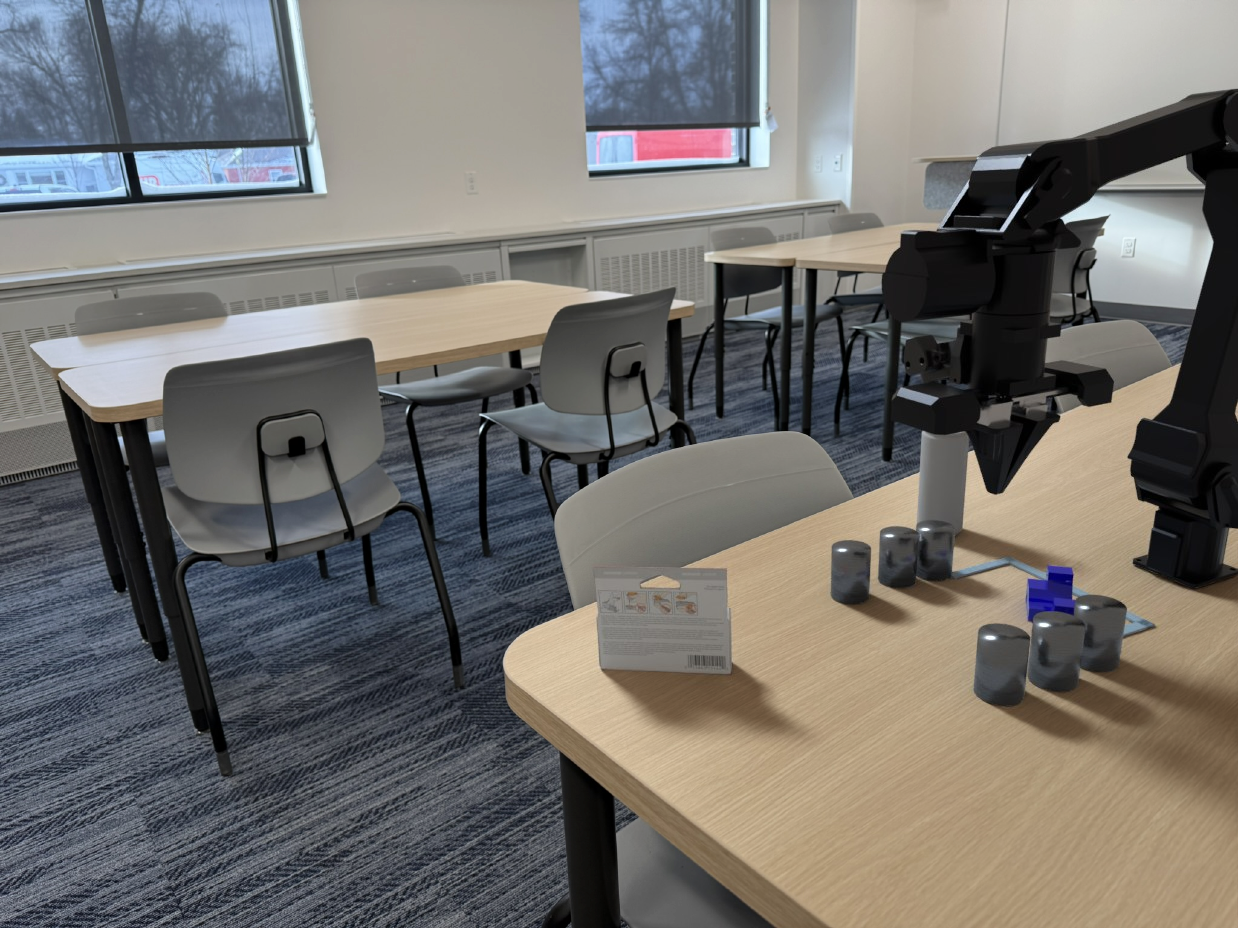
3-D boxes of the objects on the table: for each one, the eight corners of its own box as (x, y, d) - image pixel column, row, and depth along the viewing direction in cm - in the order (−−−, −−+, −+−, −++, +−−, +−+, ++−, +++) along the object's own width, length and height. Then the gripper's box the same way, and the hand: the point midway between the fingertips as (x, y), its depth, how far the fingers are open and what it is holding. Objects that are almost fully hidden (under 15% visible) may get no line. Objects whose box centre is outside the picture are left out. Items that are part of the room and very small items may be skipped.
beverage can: (965, 540, 93) (973, 434, 89) (919, 538, 94) (925, 433, 90) (958, 522, 97) (965, 421, 93) (913, 522, 98) (919, 421, 94)
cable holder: (1025, 602, 79) (1029, 563, 78) (1067, 607, 78) (1071, 567, 77) (1030, 645, 72) (1034, 603, 71) (1076, 651, 71) (1082, 608, 70)
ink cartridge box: (604, 656, 74) (597, 553, 71) (732, 661, 72) (730, 555, 69) (599, 671, 72) (591, 566, 69) (731, 677, 70) (729, 569, 67)
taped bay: (1009, 558, 88) (1009, 556, 88) (1154, 626, 74) (1154, 623, 74) (947, 574, 85) (947, 572, 85) (1086, 648, 71) (1086, 646, 71)
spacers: (930, 560, 88) (933, 516, 87) (1135, 668, 68) (1143, 611, 66) (820, 589, 84) (820, 542, 82) (1003, 714, 63) (1009, 655, 62)
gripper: (1019, 290, 79) (1004, 451, 84) (851, 311, 72) (846, 484, 77) (1129, 302, 69) (1105, 484, 74) (946, 328, 62) (933, 525, 67)
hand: (994, 492), depth 73 cm, fingers closed
